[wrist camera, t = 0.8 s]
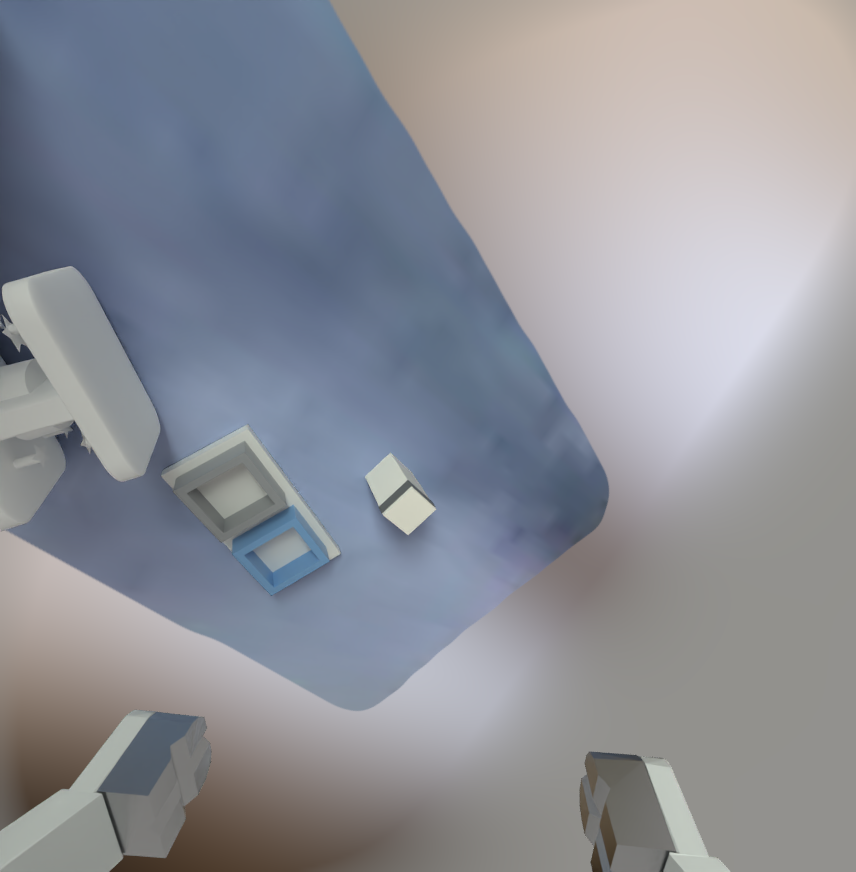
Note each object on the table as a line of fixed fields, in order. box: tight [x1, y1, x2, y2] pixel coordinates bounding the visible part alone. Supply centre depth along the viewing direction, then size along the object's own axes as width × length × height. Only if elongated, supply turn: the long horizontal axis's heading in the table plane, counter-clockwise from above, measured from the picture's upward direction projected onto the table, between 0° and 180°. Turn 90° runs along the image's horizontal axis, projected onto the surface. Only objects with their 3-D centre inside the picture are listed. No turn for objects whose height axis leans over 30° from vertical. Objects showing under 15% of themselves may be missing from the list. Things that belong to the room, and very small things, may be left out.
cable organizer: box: [0, 266, 160, 531], centre depth 33 cm, size 15×11×12 cm
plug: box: [365, 453, 436, 535], centre depth 49 cm, size 4×4×8 cm
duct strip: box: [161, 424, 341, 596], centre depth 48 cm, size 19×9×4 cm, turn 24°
